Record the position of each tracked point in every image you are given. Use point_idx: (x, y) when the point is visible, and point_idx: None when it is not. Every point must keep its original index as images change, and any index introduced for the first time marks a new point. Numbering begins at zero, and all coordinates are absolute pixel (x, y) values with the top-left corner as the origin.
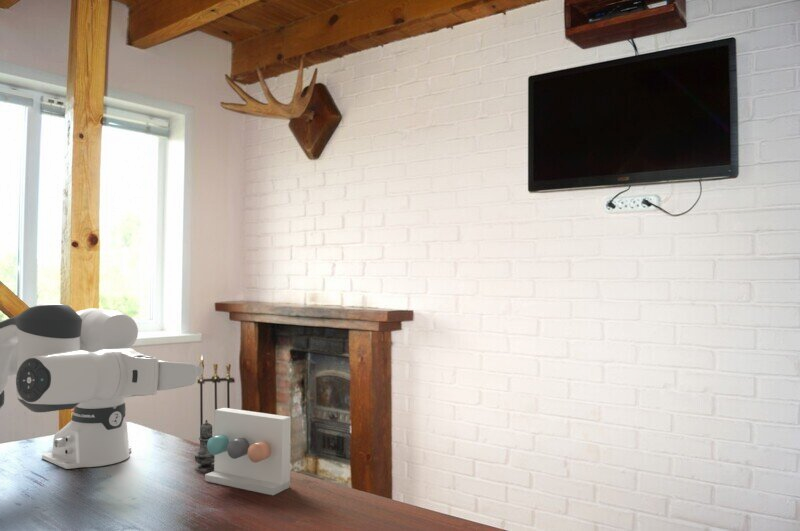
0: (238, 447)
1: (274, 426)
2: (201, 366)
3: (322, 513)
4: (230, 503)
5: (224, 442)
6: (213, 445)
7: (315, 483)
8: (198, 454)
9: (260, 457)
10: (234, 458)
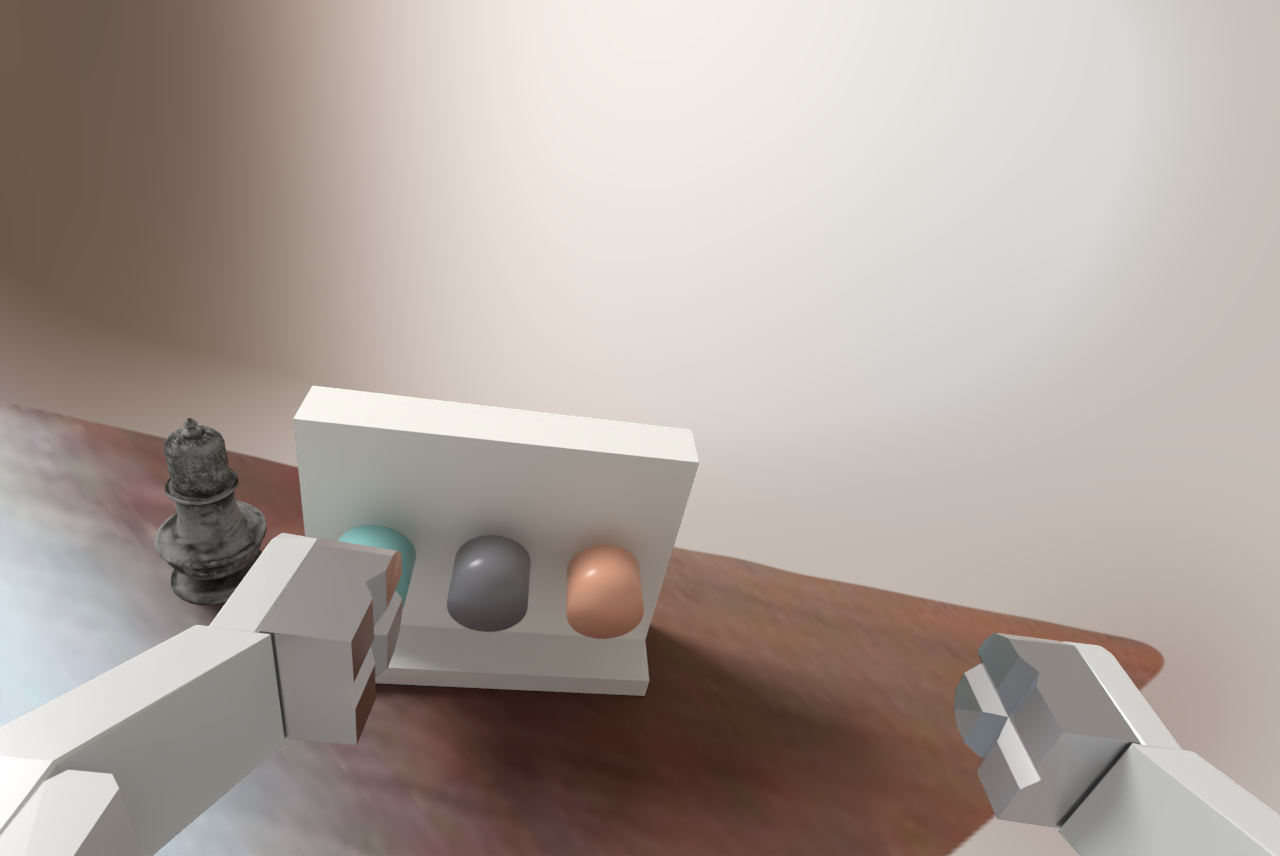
0: (516, 598)
1: (651, 485)
2: (1112, 662)
3: (891, 755)
4: (563, 830)
5: (408, 567)
6: None
7: (678, 568)
8: (188, 553)
9: (633, 624)
10: (489, 630)
